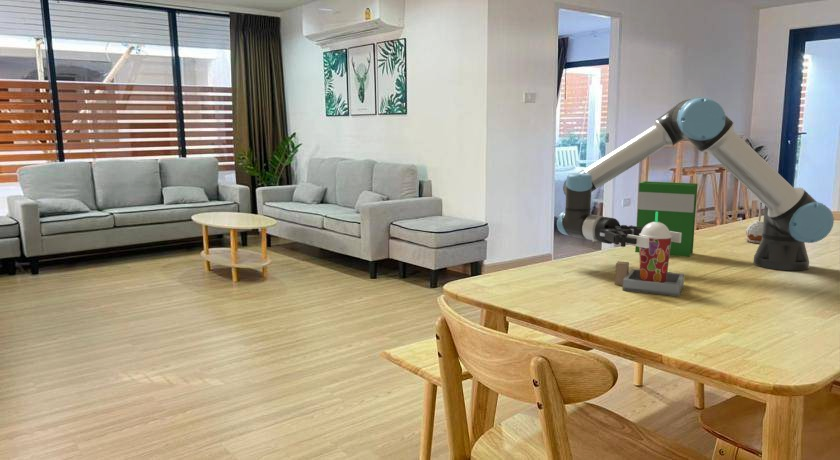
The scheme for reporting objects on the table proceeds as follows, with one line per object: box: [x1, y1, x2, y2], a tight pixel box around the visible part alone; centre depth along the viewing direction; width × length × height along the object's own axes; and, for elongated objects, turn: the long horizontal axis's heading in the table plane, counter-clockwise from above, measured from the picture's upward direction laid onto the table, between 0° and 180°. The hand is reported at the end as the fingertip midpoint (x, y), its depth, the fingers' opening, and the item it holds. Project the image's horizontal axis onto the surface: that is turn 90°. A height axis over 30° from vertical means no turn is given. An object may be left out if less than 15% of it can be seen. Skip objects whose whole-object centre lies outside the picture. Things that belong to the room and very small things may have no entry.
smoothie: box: [639, 212, 672, 283], centre depth 173 cm, size 8×8×20 cm
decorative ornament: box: [745, 202, 763, 244], centre depth 238 cm, size 8×8×15 cm
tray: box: [614, 261, 685, 298], centre depth 175 cm, size 17×14×6 cm
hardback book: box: [634, 180, 699, 258], centre depth 219 cm, size 18×7×24 cm, turn 61°
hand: (664, 240), depth 170 cm, fingers open, 13 cm apart
